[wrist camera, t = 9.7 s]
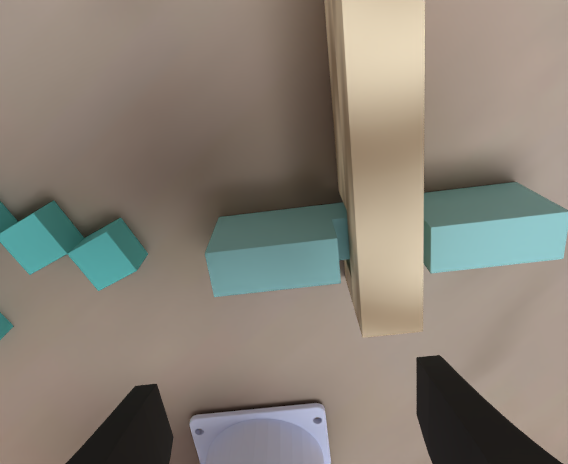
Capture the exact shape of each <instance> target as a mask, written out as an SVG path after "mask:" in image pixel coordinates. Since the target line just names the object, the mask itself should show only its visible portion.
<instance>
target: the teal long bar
mask: <svg viewBox="0 0 568 464" xmlns="http://www.w3.org/2000/svg"><path fill="white" fill-rule="evenodd" d="M567 231H568V210H567V209H565V208H563V207H561V206H559V205H557V204H556V203H554V202H552V201H550V200H548V199H546V198H544V197H543V196H541V195H539V194H537V193H535V192H533V191H532V190H530V189H528V188H526V187H524V186H522V185H521V184H519V183H517V182H511V183H502V184H494V185H486V186H477V187H469V188H460V189H452V190H443V191H435V192H426V193H424V242H423V263H424V264H425V266H426V267H427V269H428V270H429V272H430V273H438V272H447V271H456V270H466V269H475V268H484V267H493V266H502V265H511V264H520V263H529V262H538V261H548V260H557V259H563V257H564V250H565V244H566V237H567ZM205 257H206V262H207V266H208V271H209V275H210V280H211V284H212V289H213V293H214V297H220V296H229V295H238V294H247V293H256V292H265V291H274V290H283V289H292V288H302V287H311V286H320V285H329V284H338V283H341V278H340V266H339V260H347V259H350V251H349V236H348V222H347V210H346V207H345V205H344V203H343V202H342V203H333V204H325V205H317V206H308V207H300V208H291V209H283V210H274V211H266V212H257V213H249V214H240V215H232V216H224V217H219V218H218V221H217V223H216V226H215V228H214V231H213V234H212V236H211V239H210V241H209V244H208V246H207V249H206V251H205Z"/></svg>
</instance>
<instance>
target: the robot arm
mask: <svg viewBox="0 0 568 464" xmlns="http://www.w3.org/2000/svg"><path fill="white" fill-rule="evenodd" d="M316 417H320V418H318V419H316ZM417 417H418V420H419V424H420V427H421V431H422V434H423V437H424V441H425V444H426V447H427V450H428V453H429V456H430V458H431V461H432V463H433V464H562V463H561V462H560V461H558V460H557V459H556V458H554V457H553V456H552V455H550V454H549V453H548V452H546V451H545V450H544V449H543V448H541V447H540V446H539V445H538V444H536V443H535V442H534V441H533V440H531V439H530V438H529V437H528V436H527V435H525V434H524V433H523V432H522V431H520V430H519V429H518V428H517V427H516V426H514V425H513V424H512V423H511V422H510V421H509V420H508V419H506V418H505V417H504V416H503V415H502V414H501V413H500V412H499V411H497V410H496V409H495V408H494V407H493V406H492V405H491V404H490V403H489V402H487V401H486V400H485V399H484V398H483V397H482V396H481V395H480V394H479V393H478V392H477V391H476V390H475V389H474V388H473V387H472V386H470V385H469V384H468V383H467V382H466V381H465V380H464V379H463V378H462V377H461V376H460V375H459V374H458V373H457V372H456V371H455V370H454V369H453V368H452V367H451V366H450V365H449V364H448V363H447V362H446V361H445V360H444V359H443V358H442V357H441V356H440V355H437V356H427V357H417ZM189 425H190V429H191V433H192V436H193V440H194V443H195V447H196V450H197V454H198V457H199V461H200V464H331V458H330V449H329V441H328V432H327V423H326V414H325V408H324V406H323V405H322V404H319V403H311V404H301V405H291V406H281V407H270V408H260V409H250V410H239V411H229V412H219V413H209V414H198V415H194V416H193V417H191V419H190V423H189ZM199 429H202V430H199ZM172 443H173V434H172V431H171V428H170V425H169V421H168V418H167V415H166V412H165V409H164V405H163V402H162V399H161V396H160V393H159V389H158V386H157V384H150V385H140V386H135V387H134V388H133V389H132V390H131V391H130V393H129V394H128V395H127V396H126V397H125V398H124V399H123V401H122V402H121V403H120V404H119V405H118V406H117V407H116V409H115V410H114V411H113V412H112V413H111V414H110V416H109V417H108V418H107V419H106V420H105V421H104V422H103V424H102V425H101V426H100V427H99V428H98V429H97V430H96V431H95V432H94V434H93V435H92V436H91V437H90V438H89V439H88V440H87V441H86V443H85V444H84V445H83V446H82V447H81V448H80V449H79V450H78V451H77V452H76V453H75V454H74V455H73V456H72V458H71V459H70V460H69V461H68V462H67V463H66V464H169V461H170V455H171V449H172Z"/></svg>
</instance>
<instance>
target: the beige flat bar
mask: <svg viewBox="0 0 568 464" xmlns="http://www.w3.org/2000/svg"><path fill="white" fill-rule="evenodd" d="M324 5H325V18H326V31H327V44H328V57H329V70H330V83H331V96H332V109H333V123H334V136H335V149H336V162H337V175H338V188H339V193H340V196H341V198H342V200H343V203H344V205H345V207H346V210H347V222H348V236H349V251H350V259H347V260H344V266H345V278H346V281H347V285H348V288H349V292H350V295H351V299H352V302H353V306H354V309H355V313H356V316H357V320H358V323H359V327H360V330H361V334H362V337H363V338H366V337H375V336H385V335H395V334H404V333H414V332H423V242H424V78H425V0H324Z"/></svg>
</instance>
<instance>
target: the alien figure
mask: <svg viewBox="0 0 568 464" xmlns="http://www.w3.org/2000/svg"><path fill="white" fill-rule="evenodd" d="M0 243H1V244H2V245H3V246H4V247H5V248H6V249H7V250H8V251H9V253H10V254H11V255H12V256H13V257H14V258H15V259H16V260H17V261H18V263H19V264H20V265H21V266H22V267H23V268H24V269H25V270H26V271H27V273H28V274H29V275H31V274H32V273H34V272H36V271H38V270H40V269H41V268H43V267H45V266H47V265H48V264H50V263H52V262H54V261H55V260H57V259H59V258H61V257H63V256H64V255H66V254H68V255H69V257H70V258H71V259H72V260H73V261H74V263H75V264H76V265H77V266H78V267H79V268H80V270H81V271H82V272H83V273H84V274H85V276H86V277H87V278H88V279H89V280H90V282H91V283H92V284H93V285H94V286H95V288H96V289H97V290H98V291H100V290H102V289H104V288H105V287H107V286H109V285H111V284H113V283H115V282H117V281H119V280H120V279H122V278H124V277H126V276H128V275H130V274H132V273H134V272H135V271H137V270H138V268H139V267H140V265H141V264H142V262H143V261H144V259H145V258H146V256H147V255H148V253H147V251H146V250H145V249H144V248H143V246H142V245H141V244H140V242H139V241H138V240H137V238H136V237H135V236H134V234H133V233H132V232H131V230H130V229H129V228H128V226H127V225H126V224H125V222H124V221H123V220H122V218H119V219H117V220H115V221H114V222H112V223H110V224H108V225H106V226H105V227H103V228H101V229H99V230H98V231H96V232H94V233H92V234H91V235H89V236H87V237H85V238H84V237H83V236H82V235H81V233H80V232H79V231H78V230H77V228H76V227H75V226H74V225H73V223H72V222H71V221H70V220H69V218H68V217H67V216H66V215H65V214H64V212H63V211H62V210H61V209H60V207H59V206H58V205H57V204H56V202H55V201H52V202H50V203H49V204H47V205H45V206H44V207H42V208H40V209H39V210H37V211H35V212H34V213H32V214H30V215H29V216H27V217H25V218H24V219H22V220H20V221H19V222H18V221H17V220H16V219H15V217H14V216H13V215H12V214H11V213H10V212H9V210H8V209H7V208H6V207H5V206H4V205H3V204H2V202H1V201H0ZM13 327H14V326H13V325H12V324H11V323H10V322H9V321H8V320H7V319H6V318H5V317H4V316H3V315H2V314H1V313H0V340H1V339H2V338H3V337H4V336H5V335H6V334H7V333H8V332H9V331H10V330H11V329H12V328H13Z"/></svg>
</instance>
